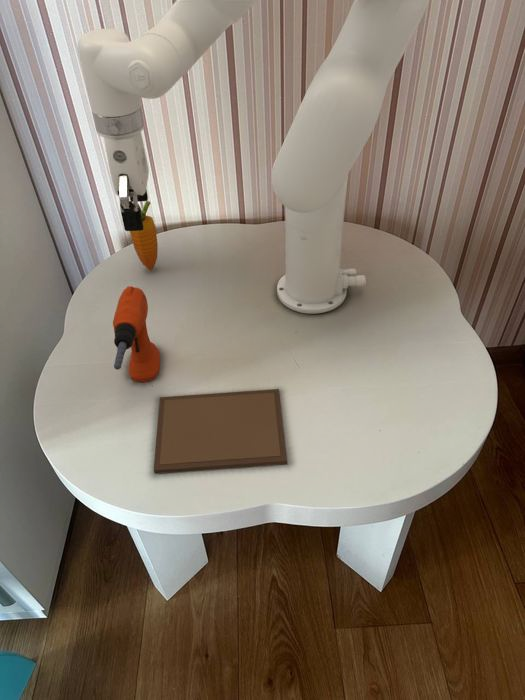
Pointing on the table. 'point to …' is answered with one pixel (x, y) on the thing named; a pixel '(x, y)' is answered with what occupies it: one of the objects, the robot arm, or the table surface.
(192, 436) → the mat
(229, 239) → the table surface
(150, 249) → the carrot
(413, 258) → the table surface
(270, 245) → the table surface
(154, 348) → the toy drill
